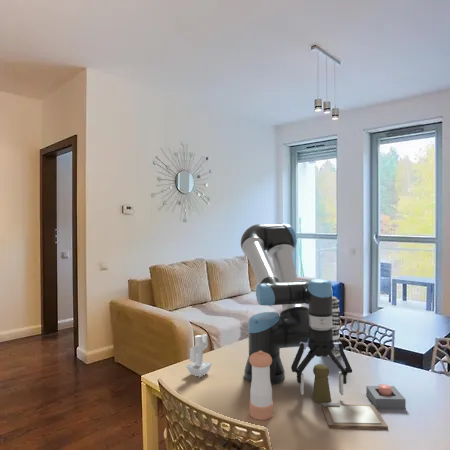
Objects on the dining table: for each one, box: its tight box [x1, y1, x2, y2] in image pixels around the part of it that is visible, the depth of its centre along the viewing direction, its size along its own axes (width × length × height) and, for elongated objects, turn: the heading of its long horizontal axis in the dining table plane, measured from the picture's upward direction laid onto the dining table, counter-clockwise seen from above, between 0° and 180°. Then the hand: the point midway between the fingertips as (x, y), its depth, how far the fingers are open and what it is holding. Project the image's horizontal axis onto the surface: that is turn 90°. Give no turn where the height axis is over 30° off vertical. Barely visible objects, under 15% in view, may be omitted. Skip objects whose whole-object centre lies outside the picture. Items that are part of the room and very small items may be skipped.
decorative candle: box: [327, 295, 342, 358], centre depth 161 cm, size 9×9×25 cm
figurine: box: [185, 333, 213, 378], centre depth 141 cm, size 7×9×15 cm
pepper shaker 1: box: [248, 351, 274, 421], centre depth 111 cm, size 7×7×19 cm
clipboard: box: [320, 402, 389, 430], centre depth 108 cm, size 16×12×1 cm
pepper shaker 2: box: [311, 363, 332, 404], centre depth 120 cm, size 6×6×11 cm
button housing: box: [365, 385, 407, 410], centre depth 117 cm, size 9×9×3 cm
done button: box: [378, 383, 392, 396], centre depth 117 cm, size 4×4×2 cm
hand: (321, 393), depth 120 cm, fingers open, 12 cm apart
